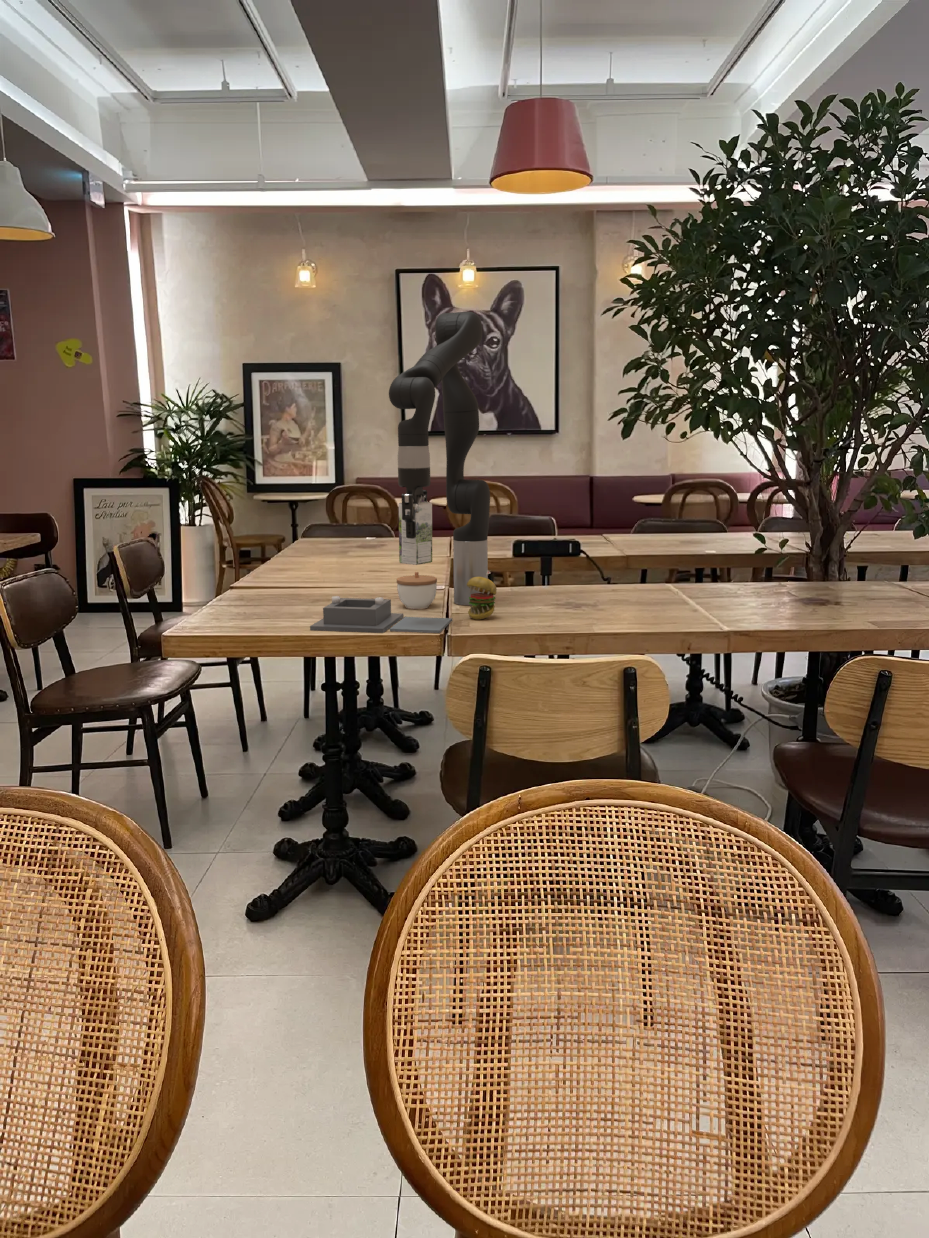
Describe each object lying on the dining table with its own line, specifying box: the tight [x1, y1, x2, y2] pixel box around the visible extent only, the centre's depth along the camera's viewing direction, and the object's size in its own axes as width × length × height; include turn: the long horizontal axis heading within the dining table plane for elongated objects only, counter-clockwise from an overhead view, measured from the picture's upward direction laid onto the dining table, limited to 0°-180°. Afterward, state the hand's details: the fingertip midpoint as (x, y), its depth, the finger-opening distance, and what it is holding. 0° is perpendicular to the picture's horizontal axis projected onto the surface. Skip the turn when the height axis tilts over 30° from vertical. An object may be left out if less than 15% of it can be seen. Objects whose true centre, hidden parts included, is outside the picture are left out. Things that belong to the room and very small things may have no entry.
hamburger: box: [467, 569, 498, 621], centre depth 225 cm, size 8×7×12 cm
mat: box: [389, 616, 453, 634], centre depth 217 cm, size 14×12×1 cm
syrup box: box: [398, 501, 433, 566], centre depth 213 cm, size 6×6×14 cm
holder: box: [309, 595, 405, 634], centre depth 220 cm, size 18×18×6 cm
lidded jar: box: [396, 571, 438, 610], centre depth 240 cm, size 11×11×9 cm
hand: (415, 536), depth 213 cm, fingers closed on syrup box, 7 cm apart
